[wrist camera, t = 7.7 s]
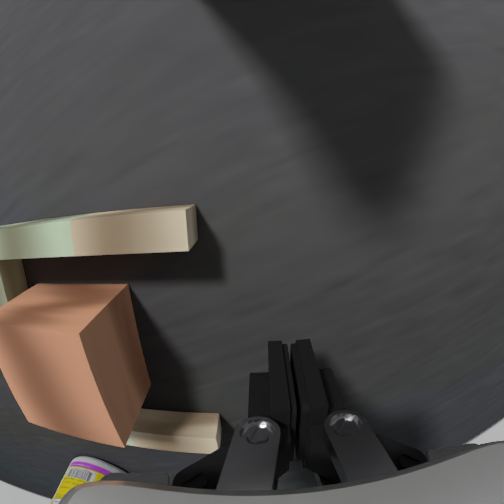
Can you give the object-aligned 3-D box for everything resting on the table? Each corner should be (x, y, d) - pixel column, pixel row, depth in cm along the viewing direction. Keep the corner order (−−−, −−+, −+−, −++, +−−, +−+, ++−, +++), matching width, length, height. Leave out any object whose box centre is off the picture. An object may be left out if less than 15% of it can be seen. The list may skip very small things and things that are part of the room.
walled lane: (195, 204, 12) (185, 209, 10) (221, 429, 16) (219, 453, 14) (0, 225, 12) (-23, 233, 10) (58, 407, 16) (46, 424, 14)
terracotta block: (129, 282, 13) (78, 333, 9) (151, 382, 15) (124, 447, 10) (38, 282, 13) (-19, 320, 9) (66, 372, 15) (28, 421, 10)
